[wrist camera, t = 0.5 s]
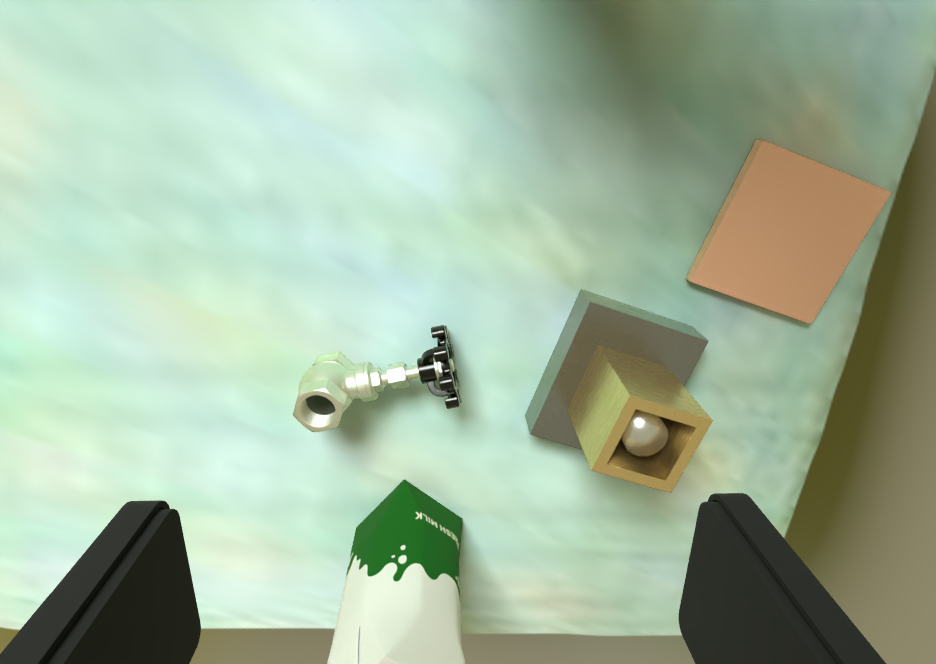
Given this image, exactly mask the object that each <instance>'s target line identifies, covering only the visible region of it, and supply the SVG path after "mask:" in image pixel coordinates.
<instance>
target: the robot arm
mask: <svg viewBox="0 0 936 664" xmlns="http://www.w3.org/2000/svg"><path fill="white" fill-rule="evenodd" d="M679 625H680V629H681V633H682V635H683V638H684V640H685V642H686V644H687V646H688V649H689V651H690V653H691V655H692V657H693V659H694V661H695V663H696V664H886V663H885V662H884V660H883V659H882V658H881V657H880V656H879V654H878V653H877V652H876V651H875V650H874V648H873V647H872V646H871V645H870V643H869V642H868V641H867V640H866V638H865V637H864V636H863V635H862V634H861V632H860V631H859V630H858V629H857V627H856V626H855V625H854V624H853V623H852V622H851V620H850V619H849V618H848V616H847V615H846V614H845V613H844V612H843V610H842V609H841V608H840V607H839V605H838V604H837V603H836V602H835V601H834V599H833V598H832V597H831V596H830V594H829V593H828V592H827V591H826V590H825V588H824V587H823V586H822V585H821V584H820V582H819V581H818V580H817V579H816V577H815V576H814V575H813V574H812V572H811V571H810V570H809V569H808V568H807V566H806V565H805V564H804V563H803V561H802V560H801V559H800V558H799V557H798V555H797V554H796V553H795V552H794V550H793V549H792V548H791V547H790V546H789V544H788V543H787V542H786V541H785V539H784V538H783V537H782V536H781V535H780V533H779V532H778V531H777V530H776V528H775V527H774V526H773V525H772V524H771V522H770V521H769V520H768V519H767V517H766V516H765V515H764V514H763V513H762V511H761V510H760V509H759V508H758V506H757V505H756V504H755V503H754V502H753V500H752V499H751V498H750V497H749V496H748V495H747V494H744V493H727V494H712V495H711V496H710V497H709V499H708V502H703V503H702V504H701V505H700V508H699V512H698V517H697V522H696V527H695V532H694V537H693V543H692V548H691V553H690V558H689V563H688V568H687V574H686V579H685V584H684V589H683V594H682V599H681V604H680V610H679ZM200 631H201V625H200V618H199V613H198V608H197V603H196V598H195V593H194V588H193V583H192V578H191V573H190V568H189V562H188V557H187V552H186V547H185V542H184V537H183V532H182V527H181V522H180V517H179V513H178V511H177V510H175V509H170V508H169V505H168V504H167V502H165V501H130V502H127V503H126V504H125V505H124V506H123V507H122V508H121V509H120V511H119V512H118V513H117V514H116V515H115V517H114V518H113V519H112V520H111V521H110V523H109V524H108V525H107V526H106V527H105V529H104V530H103V531H102V532H101V534H100V535H99V536H98V537H97V538H96V540H95V541H94V542H93V543H92V544H91V546H90V547H89V548H88V549H87V550H86V552H85V553H84V554H83V555H82V557H81V558H80V559H79V560H78V561H77V563H76V564H75V565H74V566H73V567H72V569H71V570H70V571H69V572H68V573H67V575H66V576H65V577H64V578H63V580H62V581H61V582H60V583H59V584H58V586H57V587H56V588H55V589H54V590H53V592H52V593H51V594H50V595H49V596H48V597H47V598H46V600H45V601H44V602H43V603H42V604H41V606H40V607H39V608H38V609H37V610H36V612H35V613H34V614H33V615H32V616H31V618H30V619H29V620H28V621H27V623H26V624H25V625H24V626H23V627H22V629H21V630H20V631H19V632H18V634H17V635H16V636H15V637H14V638H13V640H12V641H11V642H10V643H9V644H8V646H7V647H6V648H5V649H4V650H3V652H2V653H1V654H0V664H189V663H190V661H191V659H192V656H193V654H194V652H195V650H196V648H197V645H198V642H199V638H200Z"/></svg>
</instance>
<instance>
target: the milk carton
mask: <svg viewBox="0 0 936 664" xmlns="http://www.w3.org/2000/svg"><path fill="white" fill-rule="evenodd" d="M461 529H462V518H460V517H459V516H457V515H456V514H454V513H453V512H451V511H450V510H448V509H447V508H446V507H444V506H443V505H441V504H440V503H438V502H437V501H435V500H434V499H432V498H431V497H429V496H428V495H426V494H425V493H423V492H422V491H420V490H419V489H418V488H416V487H415V486H413V485H412V484H410V483H409V482H407V481H406V480H403V481H402V482H401V483H400V484H399V485H398V486H397V487H396V488H395V489H394V490H393V491H392V492H391V493H390V494H389V495H388V496H387V497H386V498H385V499H384V501H383V502H382V503H381V504H380V505H379V506H378V507H377V508H376V509H375V510H374V511H373V512H372V513H371V514H370V515H369V516H368V517H367V518H366V519H365V520H364V521H363V522H362V523H361V524H360V525H359V526H358V527H357V528H356V532H355V537H354V541H353V546H352V550H351V556H350V561H349V565H348V570H347V575H346V580H345V585H344V589H343V594H342V599H341V604H340V609H339V614H338V618H337V623H336V628H335V633H334V638H333V643H332V647H331V651H330V655H329V659H328V662H327V664H466V661H465V657H464V653H463V649H462V639H461V610H460V579H459V556H460V543H461Z"/></svg>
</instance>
